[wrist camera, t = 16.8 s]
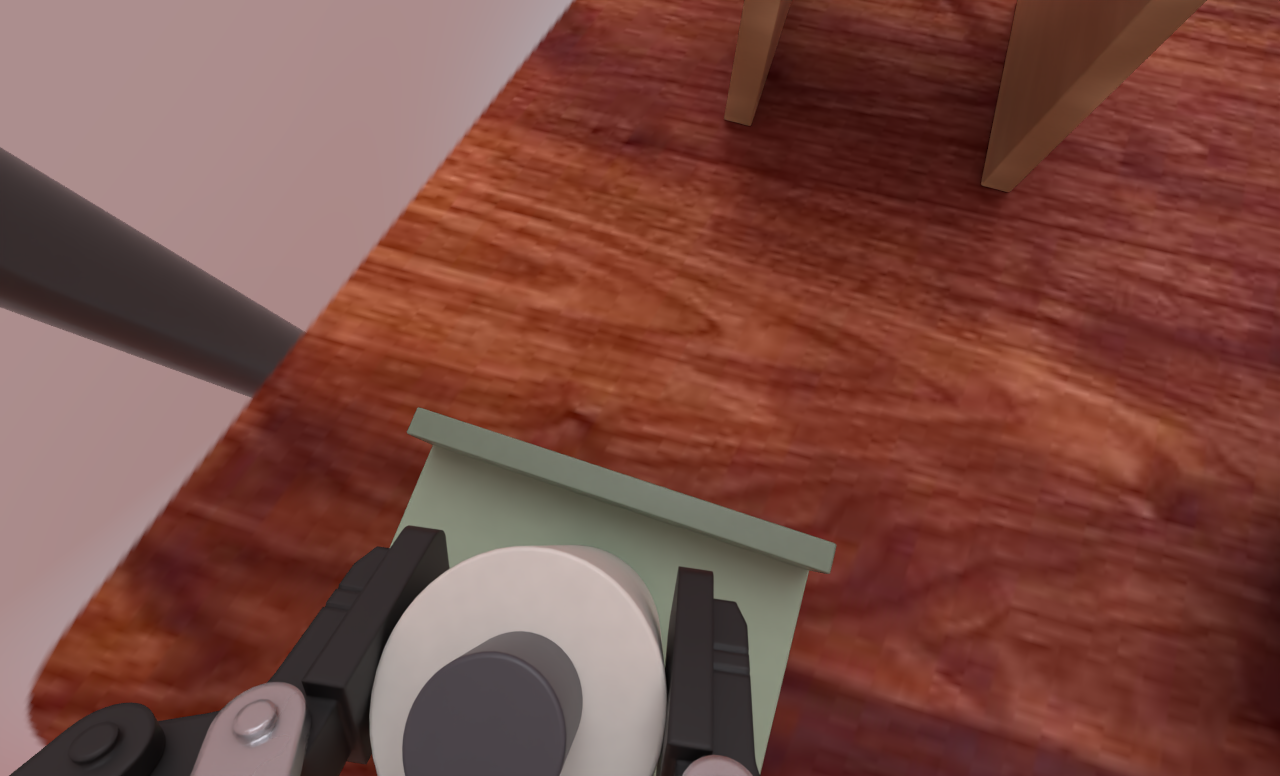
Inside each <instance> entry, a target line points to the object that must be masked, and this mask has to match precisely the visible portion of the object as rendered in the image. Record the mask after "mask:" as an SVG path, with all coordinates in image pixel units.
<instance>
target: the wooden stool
mask: <svg viewBox="0 0 1280 776" xmlns="http://www.w3.org/2000/svg"><path fill="white" fill-rule="evenodd" d="M1206 1H1207V0H1017V5H1016V10H1015V15H1014V20H1013V25H1012V30H1011V35H1010V40H1009V45H1008V50H1007V55H1006V60H1005V65H1004V70H1003V75H1002V80H1001V85H1000V90H999V95H998V100H997V106H996V111H995V116H994V121H993V126H992V131H991V136H990V141H989V146H988V151H987V156H986V161H985V166H984V171H983V176H982V181H981V185H982V186H986V187H990V188H993V189H997V190H1001V191H1005V192H1010V191H1011V190H1012V189H1013V188H1014V187H1015V186H1017V185H1018V184H1019V183H1020V182H1021V181H1022V180H1023V179H1024V178H1025V177H1026V176H1027V175H1028V174H1029V173H1030V172H1031V171H1032V170H1033V169H1034V168H1035V167H1036V166H1037V165H1038V164H1039V163H1040V162H1041V161H1042V160H1043V159H1044V158H1045V157H1046V156H1047V155H1048V154H1049V153H1050V152H1051V151H1052V150H1054V149H1055V148H1056V147H1057V146H1058V145H1059V144H1060V143H1061V142H1062V141H1063V140H1064V139H1065V138H1066V137H1067V136H1068V135H1069V134H1070V133H1071V132H1072V131H1073V130H1074V129H1075V128H1076V127H1077V126H1078V125H1079V124H1080V123H1081V122H1082V121H1083V120H1084V119H1085V118H1086V117H1087V116H1088V115H1089V114H1090V113H1092V112H1093V111H1094V110H1095V109H1096V108H1097V107H1098V106H1099V105H1100V104H1101V103H1102V102H1103V101H1104V100H1105V99H1106V98H1107V97H1108V96H1109V95H1110V94H1111V93H1112V92H1113V91H1114V90H1115V89H1116V88H1117V87H1118V86H1119V85H1120V84H1121V83H1122V82H1123V81H1124V80H1125V79H1126V78H1127V77H1128V76H1130V75H1131V74H1132V73H1133V72H1134V71H1135V70H1136V69H1137V68H1138V67H1139V66H1140V65H1141V64H1142V63H1143V62H1144V61H1145V60H1146V59H1147V58H1148V57H1149V56H1150V55H1151V54H1152V53H1153V52H1154V51H1155V50H1156V49H1157V48H1158V47H1159V46H1160V45H1161V44H1162V43H1163V42H1164V41H1165V40H1166V39H1168V38H1169V37H1170V36H1171V35H1172V34H1173V33H1174V32H1175V31H1176V30H1177V29H1178V28H1179V27H1180V26H1181V25H1182V24H1183V23H1184V22H1185V21H1186V20H1187V19H1188V18H1189V17H1190V16H1191V15H1192V14H1193V13H1194V12H1195V11H1196V10H1197V9H1198V8H1199V7H1200V6H1201V5H1202V4H1203V3H1204V2H1206ZM791 2H792V0H744V5H743V11H742V17H741V22H740V28H739V34H738V40H737V46H736V51H735V57H734V63H733V69H732V75H731V80H730V86H729V92H728V98H727V103H726V109H725V115H724V119H725V120H729V121H732V122H736V123H740V124H744V125H748V126H751V125H752V121H753V118H754V115H755V112H756V109H757V106H758V103H759V100H760V97H761V94H762V91H763V88H764V85H765V82H766V79H767V75H768V72H769V69H770V66H771V63H772V60H773V57H774V54H775V51H776V48H777V45H778V42H779V39H780V36H781V33H782V29H783V26H784V23H785V20H786V17H787V14H788V11H789V8H790V5H791Z"/></svg>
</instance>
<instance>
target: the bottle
mask: <svg viewBox="0 0 1280 776" xmlns="http://www.w3.org/2000/svg"><path fill="white" fill-rule="evenodd" d="M666 712H667V683H666V674H665V666H664V657H663V648H662V639H661V630H660V623H659V616H658V613H657V609H656V605H655V603H654V600H653V598H652V596H651V593H650V592H649V590H648V588H647V586H646V585H645V583H644V582H643V580H642V579H641V578H640V576H639V575H638V574H637V573H636V572H635V571H634V570H633V569H632V568H631V567H630V566H629V565H628V564H627V563H625V562H624V561H623V560H622V559H620V558H618V557H617V556H615V555H613V554H611V553H609V552H607V551H604V550H602V549H598V548H595V547H591V546H583V545H548V546H512V547H506V548H499V549H495V550H491V551H488V552H484V553H481V554H478V555H476V556H473V557H471V558H469V559H467V560H464V561H462V562H460V563H459V564H457V565H455V566H454V567H452V568H450V569H449V570H447V571H445V572H444V573H443V574H441V575H440V576H439V577H438V578H436V579H435V580H434V581H432V582H431V583H430V584H429V585H428V586H427V587H426V588H425V589H424V590H423V591H422V592H421V593H420V594H419V595H418V596H417V597H416V598H415V599H414V600H413V602H412V603H411V604H410V605H409V607H408V608H407V609H406V610H405V612H404V613H403V615H402V616H401V618H400V619H399V621H398V623H397V624H396V626H395V627H394V629H393V631H392V633H391V635H390V637H389V639H388V641H387V643H386V645H385V647H384V649H383V652H382V655H381V658H380V661H379V664H378V667H377V670H376V674H375V679H374V683H373V688H372V693H371V703H370V712H369V721H370V741H371V748H372V756H373V760H374V764H375V767H376V771H377V775H378V776H653V775H654V772H655V769H656V766H657V763H658V760H659V757H660V754H661V750H662V745H663V737H664V729H665V721H666Z"/></svg>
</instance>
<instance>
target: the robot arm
mask: <svg viewBox="0 0 1280 776" xmlns="http://www.w3.org/2000/svg"><path fill="white" fill-rule="evenodd" d="M447 570H449V560H448V551H447V543H446V535H445V532H444V531H443V530H438V529H432V528H425V527H418V526H411V525H408V526H406V527H405V528H404V529H403V530H402V531H401V533H400V534H399V536H398V537H397V539H396V540H395V542H394V543H393V545H392V546H391V548H384V547H376V548H375V549H373V550H372V551H371V552H369V553H368V554H367V555H365V556H364V557H363V558H361V559H360V560H359V561H357V562H356V563H355V564H354V565H353V566H352V568H351V569H350V570H349V572H348V573H347V575H346V576H345V577H344V579H343V580H342V581H341V583H340V584H339V588H338V589H336V590H335V591H334V593H333V594H332V595H331V597H330V598H329V599H328V601H327V602H326V606H325V607H323V608H322V609H321V611H320V612H319V613H318V615H317V616H316V617H315V619H314V620H313V622H312V623H311V624H310V626H309V627H308V629H307V630H306V631H305V633H304V634H303V635H302V637H301V638H300V640H299V641H298V642H297V644H296V645H295V646H294V648H293V649H292V651H291V652H290V653H289V655H288V656H287V658H286V659H285V660H284V662H283V663H282V664H281V666H280V667H279V669H278V670H277V671H276V673H275V674H274V675H273V676H272V678H271V679H270V680H269V681H268V682H267V683H266V684H261V685H259V686H256V687H253V688H251V689H249V690H247V691H245V692H243V693H242V694H240V695H238V696H237V697H235V698H234V699H233V700H231V701H230V702H229V703H228V704H227V705H226V706H225V707H224V708H223V709H222V710H220V711H216V712H212V713H207V714H201V715H194V716H188V717H182V718H176V719H169V720H163V721H157V720H156V718H155V716H154V715H153V713H152V712H151V710H150V709H149V708H147V707H146V706H144V705H142V704H138V703H121V704H115V705H112V706H108V707H105V708H103V709H100V710H98V711H95V712H93V713H91V714H90V715H88V716H86V717H84V718H82V719H81V720H79V721H78V722H76V723H75V724H73V725H72V726H71V727H69V728H68V729H67V730H65V731H64V732H63V733H62V734H60V735H59V736H58V737H57V738H55V739H54V740H53V741H52V742H50V743H49V744H48V745H47V746H45V747H44V748H43V749H42V750H41V751H39V752H38V753H37V754H36V755H34V756H33V757H32V758H31V759H29V760H28V761H27V762H26V763H24V764H23V765H22V766H21V767H19V768H18V769H17V770H16V771H14V772H13V773H12V774H11V775H9V776H339V774H340V772H341V771H342V769H343V767H344V765H345V763H346V761H348V762H354V763H360V764H367V762H368V760H369V758H370V756H371V754H372V748H371V741H370V721H369V712H370V703H371V693H372V688H373V683H374V679H375V674H376V670H377V667H378V664H379V661H380V658H381V655H382V652H383V649H384V647H385V645H386V643H387V641H388V639H389V637H390V635H391V633H392V631H393V629H394V627H395V626H396V624H397V623H398V621H399V619H400V618H401V616H402V615H403V613H404V612H405V610H406V609H407V608H408V607H409V605H410V604H411V603H412V602H413V600H414V599H415V598H416V597H417V596H418V595H419V594H420V593H421V592H422V591H423V590H424V589H425V588H426V587H427V586H428V585H429V584H430V583H431V582H432V581H434V580H435V579H436V578H438V577H439V576H440V575H441V574H443V573H444V572H445V571H447ZM748 653H749V644H748V626H747V623H746V621H745V619H744V617H743V615H742V613H741V611H740V609H739V607H738V605H737V603H736V602H734V601H728V600H721V599H715V598H714V575H713V571H708V570H701V569H695V568H688V567H681V566H679V567H678V572H677V578H676V584H675V590H674V596H673V602H672V608H671V614H670V621H669V629H668V637H667V648H666V660H665V674H666V683H667V712H666V721H665V729H664V737H663V745H662V750H661V754H660V757H659V760H658V763H657V768H656V776H760V774H759V771H758V768H757V764H756V758H755V747H754V730H753V713H752V695H751V678H750V661H749V654H748Z"/></svg>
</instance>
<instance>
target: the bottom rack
mask: <svg viewBox="0 0 1280 776" xmlns="http://www.w3.org/2000/svg"><path fill="white" fill-rule="evenodd" d="M407 433H408V434H409V435H411V436H414V437H416V438H418V439H420V440H423V441H425V442H427V443H429V444H432V445H433V446H432V449H431V451H430V454H429V456H428V458H427V461H426V463H425V465H424V468H423V470H422V472H421V475H420V477H419V480H418V482H417V484H416V487H415V489H414V491H413V494H412V496H411V499H410V501H409V503H408V506H407V508H406V510H405V513H404V515H403V517H402V520H401V522H400V525H399V527H398V529H397V532H396V534H395V536H394V539H393V541H392V543H391V546H392V545H393V543H394V542H395V540H396V539H397V537H398V536H399V534H400V533H401V531H402V530H403V529H404V528H405V527H406V526H408V525H411V526H418V527H425V528H432V529H438V530H443V531H444V532H445V535H446V543H447V551H448V560H449V569H450V568H452V567H454V566H455V565H457V564H459V563H460V562H462V561H464V560H467V559H469V558H471V557H473V556H476V555H478V554H481V553H484V552H488V551H491V550H495V549H499V548H506V547H512V546H548V545H583V546H591V547H595V548H598V549H602V550H604V551H607V552H609V553H611V554H613V555H615V556H617V557H618V558H620V559H622V560H623V561H624V562H625V563H627V564H628V565H629V566H630V567H631V568H632V569H633V570H634V571H635V572H636V573H637V574H638V575H639V576H640V578H641V579H642V580H643V582H644V583H645V585H646V586H647V588H648V590H649V592H650V593H651V596H652V598H653V600H654V603H655V605H656V609H657V613H658V616H659V623H660V630H661V639H662V648H663V657H664V666H665V660H666V648H667V637H668V629H669V621H670V614H671V608H672V602H673V596H674V590H675V584H676V578H677V572H678V567H679V566H681V567H688V568H695V569H701V570H708V571H713V575H714V598H715V599H721V600H728V601H734V602H736V603H737V605H738V607H739V609H740V611H741V613H742V615H743V617H744V619H745V621H746V623H747V626H748V644H749V653H748V654H749V661H750V678H751V695H752V713H753V730H754V747H755V758H756V764H757V768H758V771H759V774H760V773H761V769H762V765H763V760H764V756H765V752H766V748H767V744H768V740H769V735H770V731H771V727H772V723H773V719H774V714H775V710H776V706H777V702H778V698H779V694H780V689H781V685H782V681H783V677H784V673H785V669H786V664H787V660H788V656H789V652H790V648H791V643H792V639H793V635H794V631H795V627H796V623H797V618H798V614H799V610H800V606H801V602H802V597H803V593H804V589H805V585H806V581H807V577H808V572H809V570H810V571H815V572H820V573H826V574H829V573H830V571H831V567H832V563H833V558H834V554H835V550H836V544H835V543H832V542H829V541H826V540H823V539H820V538H817V537H814V536H811V535H808V534H805V533H802V532H799V531H796V530H793V529H790V528H787V527H783V526H780V525H777V524H774V523H771V522H768V521H765V520H762V519H759V518H756V517H753V516H750V515H747V514H744V513H741V512H738V511H735V510H732V509H728V508H725V507H722V506H719V505H716V504H713V503H710V502H707V501H704V500H701V499H698V498H695V497H692V496H689V495H686V494H683V493H680V492H677V491H674V490H670V489H667V488H664V487H661V486H658V485H655V484H652V483H649V482H646V481H643V480H640V479H637V478H634V477H631V476H628V475H625V474H622V473H619V472H615V471H612V470H609V469H606V468H603V467H600V466H597V465H594V464H591V463H588V462H585V461H582V460H579V459H576V458H573V457H570V456H567V455H564V454H560V453H557V452H554V451H551V450H548V449H545V448H542V447H539V446H536V445H533V444H530V443H527V442H524V441H521V440H518V439H515V438H512V437H509V436H505V435H502V434H499V433H496V432H493V431H490V430H487V429H484V428H481V427H478V426H475V425H472V424H469V423H466V422H463V421H460V420H457V419H454V418H450V417H447V416H444V415H441V414H438V413H435V412H432V411H429V410H426V409H423V408H420V407H419V408H417V410H416V412H415V415H414V417H413V419H412V422H411V424H410V426H409V428H408V431H407ZM391 546H390V548H391ZM656 768H657V766H656ZM653 776H656V769H655V772H654V775H653Z"/></svg>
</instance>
